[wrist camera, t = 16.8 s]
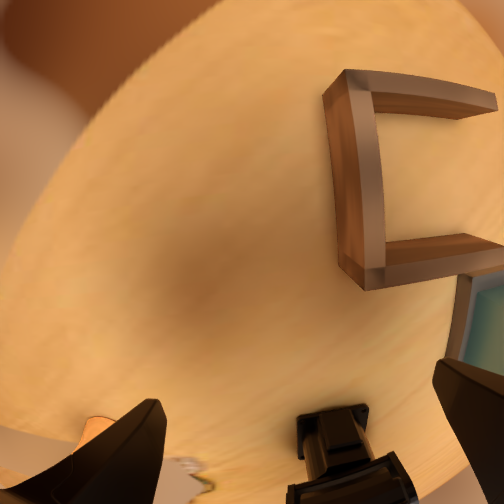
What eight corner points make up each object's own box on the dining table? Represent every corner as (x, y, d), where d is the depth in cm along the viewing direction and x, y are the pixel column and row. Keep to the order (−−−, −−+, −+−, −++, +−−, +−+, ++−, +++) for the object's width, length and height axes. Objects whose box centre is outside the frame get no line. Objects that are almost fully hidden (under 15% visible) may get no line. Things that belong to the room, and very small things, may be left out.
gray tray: (504, 352, 22) (514, 360, 20) (439, 378, 22) (448, 390, 20) (523, 255, 19) (536, 260, 17) (458, 270, 20) (472, 277, 18)
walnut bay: (464, 247, 19) (504, 264, 14) (338, 265, 19) (364, 291, 15) (454, 105, 17) (494, 93, 12) (322, 95, 17) (344, 69, 12)
